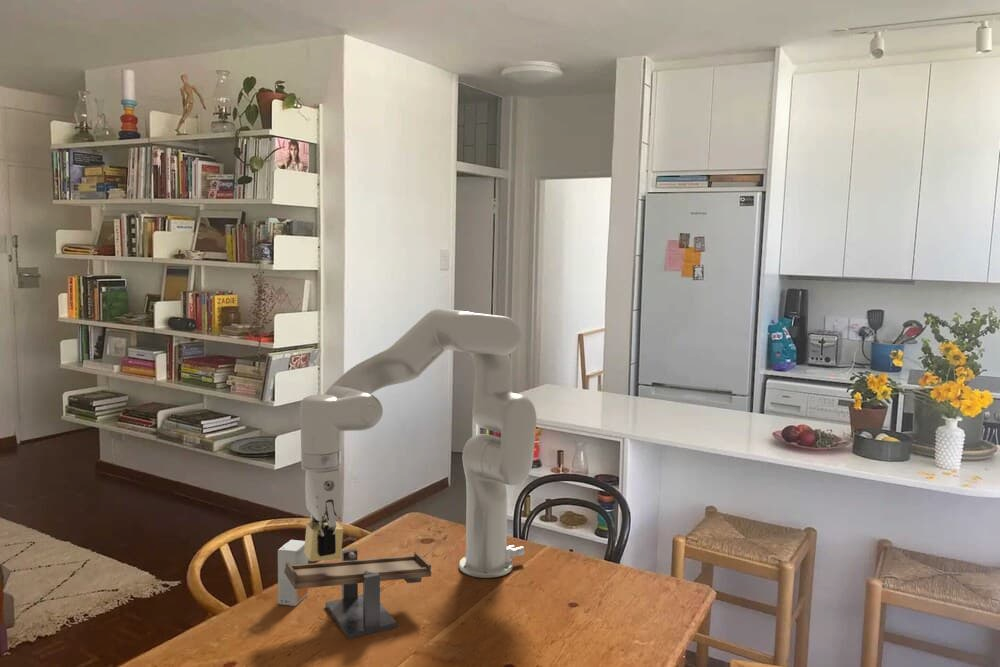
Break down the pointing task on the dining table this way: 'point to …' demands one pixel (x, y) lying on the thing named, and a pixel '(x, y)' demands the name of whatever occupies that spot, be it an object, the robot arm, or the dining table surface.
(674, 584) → the dining table surface
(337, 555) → the block
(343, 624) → the stand
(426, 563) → the beam
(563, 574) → the dining table surface
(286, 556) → the skincare box
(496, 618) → the dining table surface
